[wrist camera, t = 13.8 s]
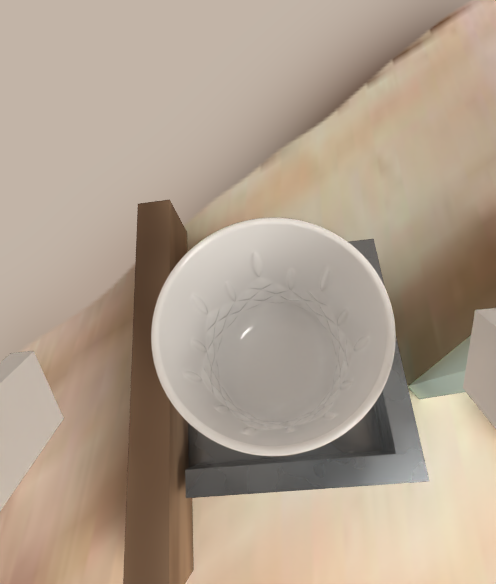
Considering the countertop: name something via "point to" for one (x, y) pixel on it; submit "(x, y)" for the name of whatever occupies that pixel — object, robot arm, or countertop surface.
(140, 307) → the brown drawer face panel
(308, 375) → the white cup
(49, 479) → the countertop surface
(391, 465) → the gray square tray
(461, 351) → the right angle wall
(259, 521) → the countertop surface
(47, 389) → the robot arm
